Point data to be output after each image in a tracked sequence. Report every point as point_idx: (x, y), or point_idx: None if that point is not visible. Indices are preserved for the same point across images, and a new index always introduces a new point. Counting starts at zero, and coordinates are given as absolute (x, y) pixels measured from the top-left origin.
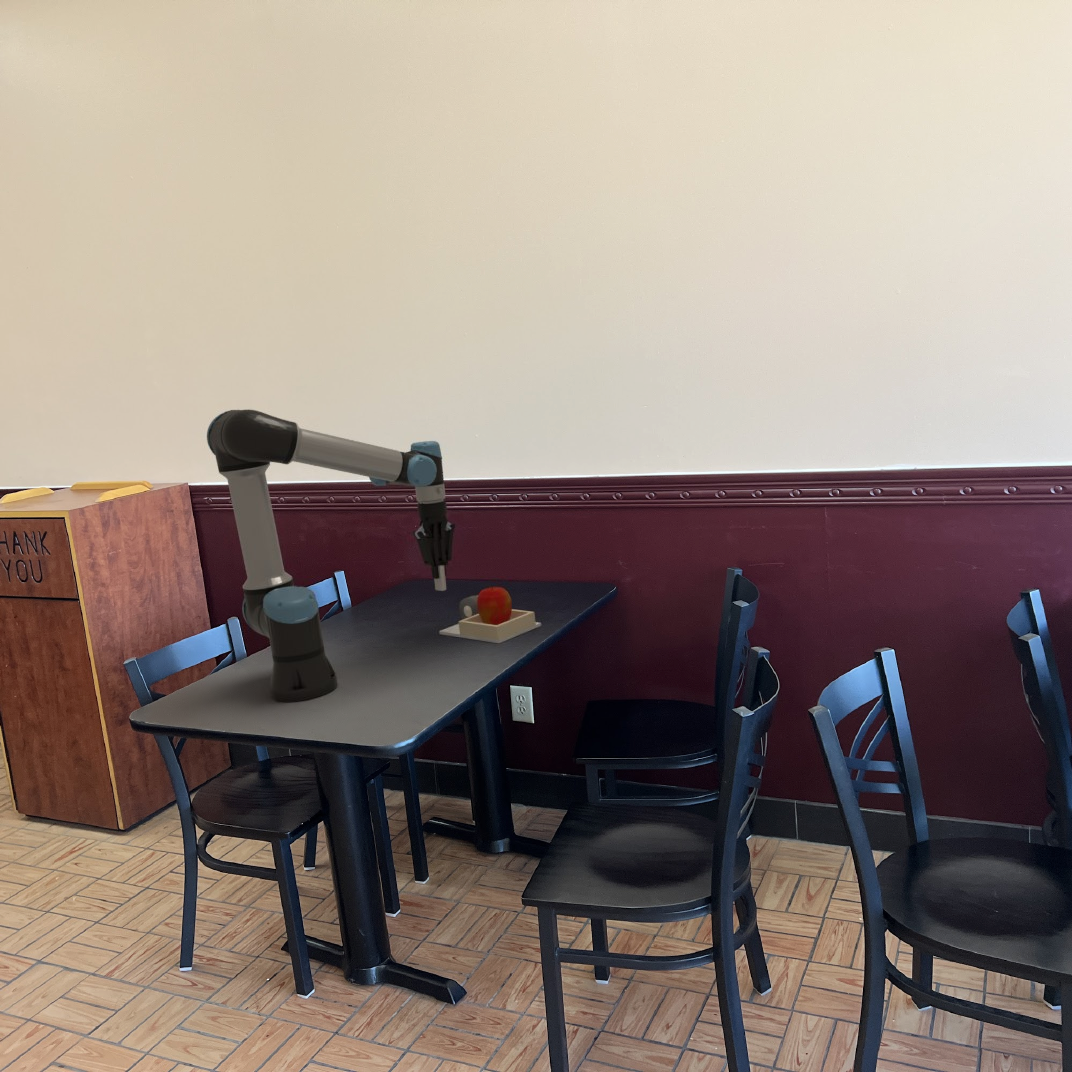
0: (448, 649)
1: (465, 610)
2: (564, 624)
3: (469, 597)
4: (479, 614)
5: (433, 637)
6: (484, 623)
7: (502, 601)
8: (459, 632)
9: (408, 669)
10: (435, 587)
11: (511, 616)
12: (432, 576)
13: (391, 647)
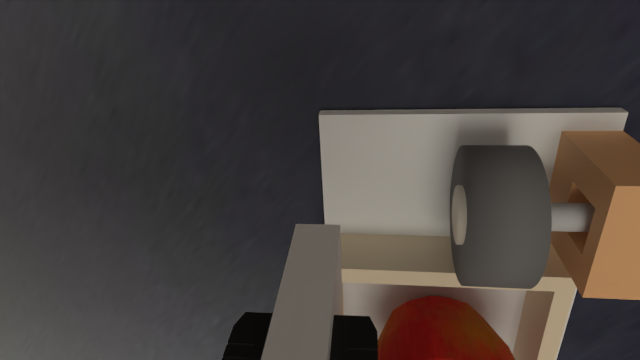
0: (212, 276)
1: (458, 203)
2: None
3: (499, 259)
4: (380, 344)
5: (274, 121)
6: (383, 328)
7: None
8: (343, 214)
9: (38, 291)
10: (293, 238)
11: (528, 339)
12: (233, 330)
13: (86, 52)
